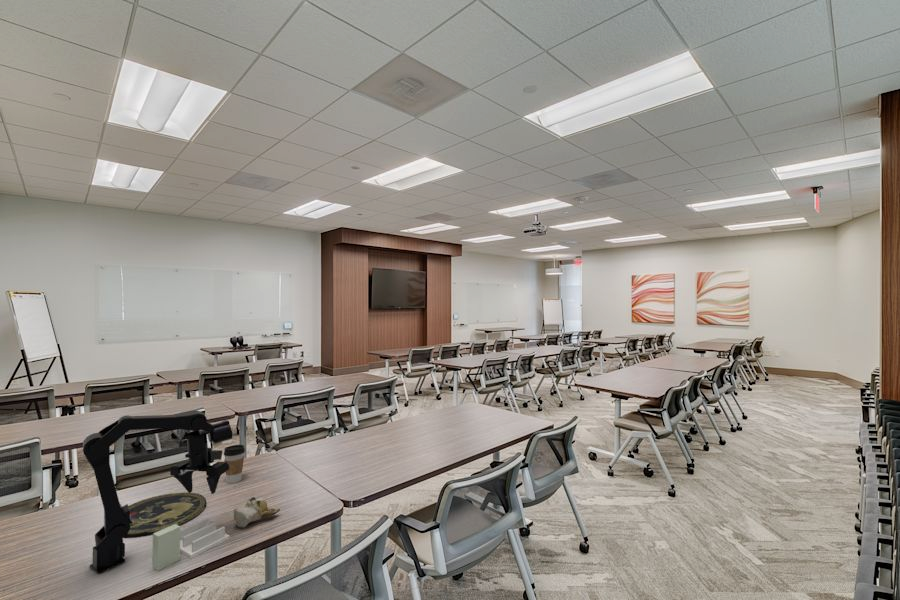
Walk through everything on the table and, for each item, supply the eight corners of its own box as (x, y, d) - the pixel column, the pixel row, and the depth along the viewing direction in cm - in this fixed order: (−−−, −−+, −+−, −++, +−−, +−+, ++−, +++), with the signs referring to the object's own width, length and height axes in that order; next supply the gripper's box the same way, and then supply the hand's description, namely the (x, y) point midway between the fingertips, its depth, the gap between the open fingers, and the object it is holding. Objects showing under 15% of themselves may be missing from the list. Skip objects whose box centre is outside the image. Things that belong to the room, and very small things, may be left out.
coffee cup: (218, 483, 172) (219, 448, 172) (234, 475, 180) (234, 442, 180) (233, 485, 169) (234, 450, 170) (248, 477, 177) (249, 444, 178)
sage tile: (157, 571, 114) (158, 536, 115) (152, 567, 116) (153, 533, 116) (179, 559, 120) (180, 526, 120) (174, 556, 121) (175, 523, 121)
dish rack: (191, 558, 120) (191, 545, 120) (169, 545, 127) (169, 533, 127) (229, 538, 131) (229, 526, 131) (207, 527, 137) (207, 516, 137)
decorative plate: (82, 527, 134) (162, 488, 163) (82, 533, 134) (162, 492, 163) (155, 539, 128) (224, 495, 157) (155, 545, 128) (224, 500, 157)
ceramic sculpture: (226, 500, 139) (265, 486, 152) (224, 525, 138) (263, 509, 151) (243, 508, 133) (282, 493, 146) (241, 535, 133) (280, 517, 145)
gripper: (238, 439, 140) (242, 481, 140) (194, 438, 143) (198, 480, 144) (214, 452, 129) (218, 498, 130) (166, 451, 132) (171, 496, 133)
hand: (201, 492), depth 134 cm, fingers open, 9 cm apart
